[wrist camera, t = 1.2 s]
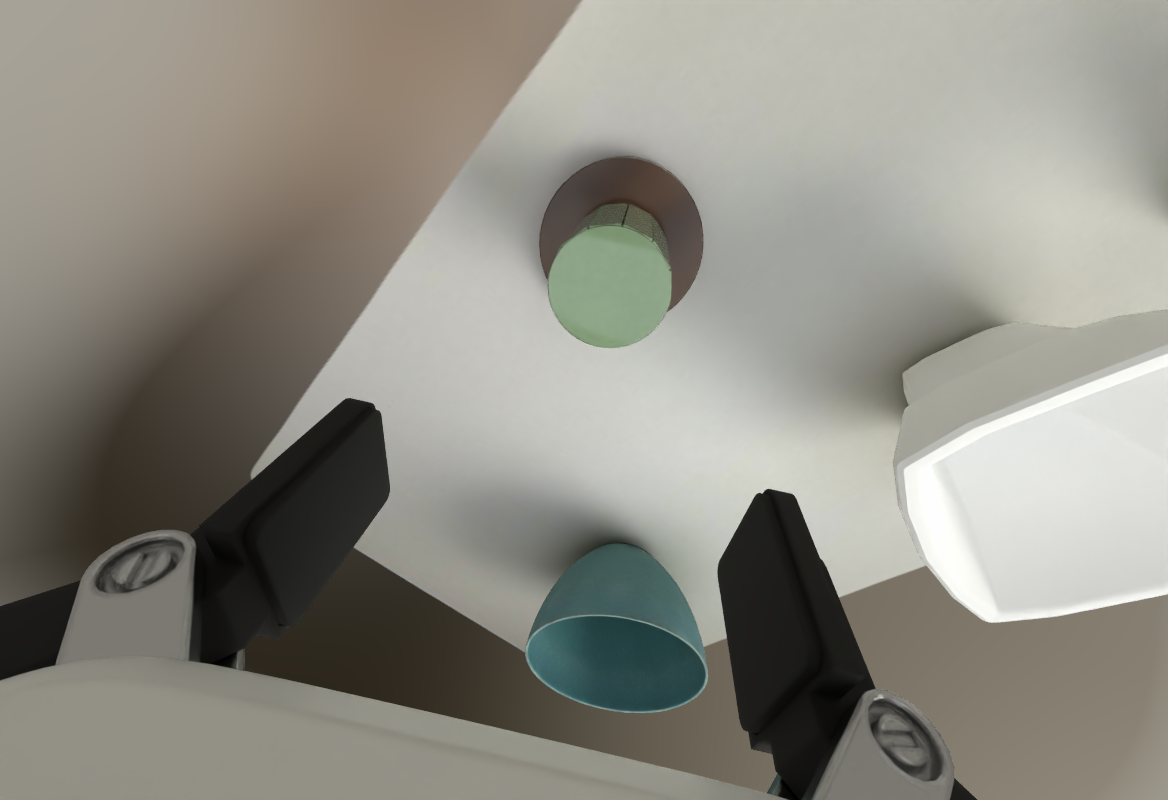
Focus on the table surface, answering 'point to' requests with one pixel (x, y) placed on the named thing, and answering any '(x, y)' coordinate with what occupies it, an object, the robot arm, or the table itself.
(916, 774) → the robot arm
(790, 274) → the table surface
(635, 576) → the plant pot
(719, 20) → the table surface
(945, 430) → the bowl
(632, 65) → the table surface
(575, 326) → the green cup
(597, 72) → the table surface
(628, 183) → the disc
